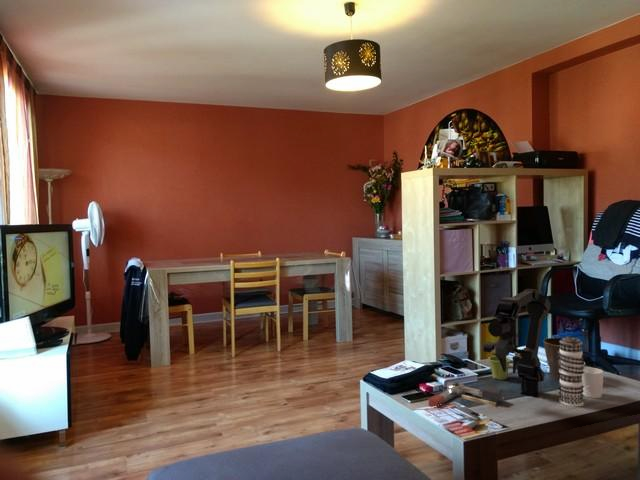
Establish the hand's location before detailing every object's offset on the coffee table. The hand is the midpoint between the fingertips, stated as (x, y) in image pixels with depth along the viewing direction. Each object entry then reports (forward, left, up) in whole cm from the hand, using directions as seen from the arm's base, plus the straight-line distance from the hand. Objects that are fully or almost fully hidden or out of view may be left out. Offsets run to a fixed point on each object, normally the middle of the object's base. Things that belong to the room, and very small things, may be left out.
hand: (509, 372), depth 192 cm
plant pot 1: (+16, -29, -13) cm, 36 cm away
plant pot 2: (-5, -46, -13) cm, 48 cm away
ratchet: (+19, +7, -13) cm, 24 cm away
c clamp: (+17, -48, -14) cm, 52 cm away
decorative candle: (-17, -18, -13) cm, 28 cm away
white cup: (-21, -31, -13) cm, 40 cm away
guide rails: (+11, 0, -13) cm, 17 cm away
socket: (+7, 0, -13) cm, 15 cm away
